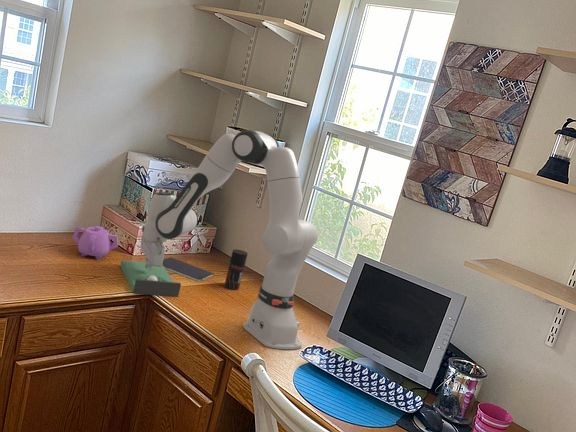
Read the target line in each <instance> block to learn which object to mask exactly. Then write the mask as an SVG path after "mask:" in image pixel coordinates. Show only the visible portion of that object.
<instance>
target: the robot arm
mask: <svg viewBox="0 0 576 432" xmlns="http://www.w3.org/2000/svg"><path fill="white" fill-rule="evenodd" d="M241 162H244V163H247V164H252V165H262V167H264V170H265V174H266V181H267V190H268V197H269V198H268V199H269V214H268V222H267V226H266V229H265V230H264V232H263V235H262V243H263V246H264V248H265V249H266V251H267V252H269V253H270V254H273V257H272V258H271V260H270V261H269V262H268V264H267V266H266V269H265V272H264V276H263V279H262V280H263V281H262V284H261V285H260V287H259V290H258V293H257V297H258V298H257V299H256V301H255V302H253V303H252V306H251V308H250V311H249V314H248V317H247V319H246V321H245V322H244V323H243V324H242V328H244V329H245V331H247V332H248V333H249V334H250V335H252V337H254V338H255V339H256V340H257V341H259V342H260V343H261V344H262V345H263V346H264V347H268V348H271V349H279V350H297V349H300V348H302V346H303V345H302V342H301V341H300V339H299V337H298V332H299V328H300V322H299V321H297V320H296V313H295V312H294V308H293V307H294V305H295V304H294V303H296V302H295V294H294V292H295V289H296V285H297V281H298V278H299V275H300V272H301V270H302V268H303V266H304V264H305V262H306V259H308V255H309V253H310V251H311V249H312V248H313V246H314V245H315V244H316V243H317V241H318V238H319V237H318V236H319V232H318V229H317V228H316V226H315V225H314V224H313V223H312V222H310V221H308V220H305V219H299V216H300V209H301V206H302V203H303V200H304V199H303V191H302V183H301V177H300V170H299V166H298V162H297V159H296V156H295V153H294V151H293V150H292V149H291V148H289V147H286V146H280V144H279V141H278V140H277V139H276V138H275V137H274V136H272V135H271V134H267V133H264V132H262V131H258V130H251V129H246V130H242V131H239V132H238V133H236V134H234V133H225V134H222V136H220V138H218V139H217V141H216V142H215V143H214V144H213V145H212V146H211V148H210V149H209V150H208V152H207V154H206V155H205V156H204V158H203V159H202V161H201V162H200V164H199V166H198V167H197V169H196V170H195V172H194V173H193V174H192V176H191V178H190V179H189V180H188V182H187V183H186V184H185V186H184V187H183V188H182V190H181V191H180V193H178V195H177V196H176V194H174V193H172V192H169V191H168V192H167V191H161V192H156V193H154V195H153V196H152V198H151V201H150V204H149V207H148V211H147V220H146V222H145V223H144V224H145V225H142V227H141V231H142V234H141V239H140V249H141V250H142V252H143V254H144V255H145V262H146V265H145V268H146V269H147V270H149V271H151V270H152V266H156V267H161V266H162V264H163V259H165V258H164V257H165V251H166V248H165V245H164V244H163V243H167V241H168V240H172V239H175V238H177V237H180V236H182V235H184V234H187V233H190V232H192V231H194V229H195V228H196V226H197V225H198V216H197V213H196V212H195V210H193V207H194V206H195V205H196V203H197V202H198V201H199V199H201V198H202V197H203V196H204V195H205V194H208V193H209V192H210V191H213V190H215V189H217V188H220V187H221V186H222V185H224V184H225V183H226V182H227V181H228V180H229V178H230V177H231V176H232V174H233V173H234V171H235V170H236V168H237V167H238V165H239V164H240V163H241Z"/></svg>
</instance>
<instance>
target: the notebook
mask: <svg viewBox="0 0 576 432" xmlns="http://www.w3.org/2000/svg"><path fill="white" fill-rule="evenodd" d="M162 265H163V266H164V268H165V269H166V271H169V272H172V273H174V274H178V275H179V276H182V277H185V278H188V279H190V280H193V281H196V282H201V281H203V280H206V279H208V278H210V277H213V276H214V275H215V272H211V271H209V270H206V269H203V268H201V267H198V266H195V265H192V264H190V263H188V262H184V261H182V260H179V259H177V258H173V257H171V256H170V257H167V258H163V264H162Z"/></svg>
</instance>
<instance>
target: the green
mask: <svg viewBox="0 0 576 432" xmlns="http://www.w3.org/2000/svg"><path fill="white" fill-rule="evenodd" d="M145 265H146V261H139V260H138V261H136V260H127V259H126V260H125V259H121V260H120V264H119V266H121V267H120V269H121V271H122V273H123V275H124V277H125V280H127V283H128V286H129V287H130V289H131V292H132V293H133V295H148V296H149V295H150V296H160V297H161V296H162V297H175V298H178V297H179V295H180V291H181V286H182V283H181V282H176V281H174V280H173V278H172V277H171V275H170V274H169V272H168V270H166V269H165V268H164V266H163V265H162V266H161V267H156V266H152V270H151V271H149V270H147V269H146V268H145ZM151 275H153V276H156V277H157V279H158V281H152V280H147V278H148V277H149V276H151Z"/></svg>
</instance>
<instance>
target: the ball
mask: <svg viewBox="0 0 576 432" xmlns="http://www.w3.org/2000/svg"><path fill="white" fill-rule="evenodd" d="M147 280H152V281H158V279H157V277H156V276H153V275H151V276H149V277H148V278H147Z"/></svg>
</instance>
